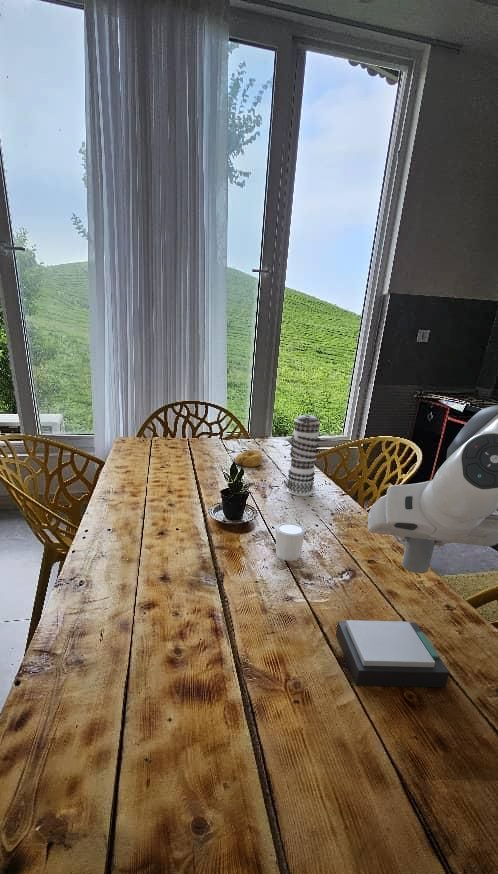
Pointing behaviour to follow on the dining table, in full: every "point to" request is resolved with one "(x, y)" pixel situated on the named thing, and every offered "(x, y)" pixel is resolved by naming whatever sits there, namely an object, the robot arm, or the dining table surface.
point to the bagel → (249, 458)
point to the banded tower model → (303, 455)
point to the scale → (390, 654)
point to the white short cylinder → (289, 541)
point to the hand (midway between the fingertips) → (419, 539)
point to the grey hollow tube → (418, 555)
